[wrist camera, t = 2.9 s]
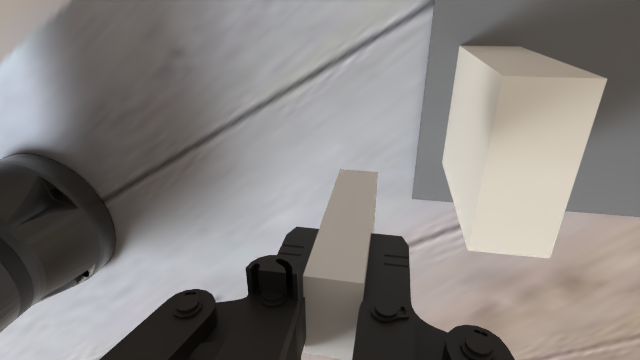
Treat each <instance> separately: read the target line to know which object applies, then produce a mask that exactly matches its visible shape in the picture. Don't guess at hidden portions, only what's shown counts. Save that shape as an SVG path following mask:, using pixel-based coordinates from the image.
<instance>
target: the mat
mask: <svg viewBox="0 0 640 360" xmlns="http://www.w3.org/2000/svg"><path fill="white" fill-rule="evenodd" d="M459 46H520V47H523V48H525V49H528V50H531V51H534V52H536V53H539V54H542V55H544V56H547V57H550V58H553V59H555V60H558V61H561V62H563V63H566V64H569V65H572V66H574V67H577V68H580V69H582V70H585V71H588V72H591V73H593V74H596V75H599V76H601V77H604V78H607V82H606V85H605V88H604V91H603V94H602V97H601V100H600V103H599V107H598V110H597V113H596V116H595V119H594V122H593V125H592V128H591V132H590V135H589V138H588V141H587V144H586V147H585V150H584V153H583V157H582V160H581V163H580V166H579V169H578V172H577V175H576V178H575V182H574V185H573V188H572V191H571V194H570V197H569V200H568V203H567V207H566V210H565V211H572V212H584V213H597V214H610V215H622V216H635V217H640V0H435V4H434V13H433V21H432V30H431V39H430V47H429V56H428V65H427V73H426V82H425V91H424V99H423V108H422V116H421V125H420V134H419V142H418V151H417V160H416V168H415V177H414V185H413V194H412V199H420V200H432V201H445V202H453V198H452V195H451V192H450V188H449V185H448V181H447V178H446V175H445V171H444V168H443V164H442V160H443V153H444V147H445V140H446V133H447V126H448V120H449V113H450V106H451V99H452V93H453V86H454V79H455V72H456V66H457V59H458V52H459Z"/></svg>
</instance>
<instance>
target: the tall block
mask: <svg viewBox="0 0 640 360" xmlns="http://www.w3.org/2000/svg"><path fill="white" fill-rule="evenodd" d="M606 82H607V78H604V77H601V76H599V75H596V74H593V73H591V72H588V71H585V70H582V69H580V68H577V67H574V66H572V65H569V64H566V63H563V62H561V61H558V60H555V59H553V58H550V57H547V56H544V55H542V54H539V53H536V52H534V51H531V50H528V49H525V48H523V47H520V46H459V52H458V59H457V66H456V72H455V79H454V86H453V93H452V99H451V106H450V113H449V120H448V126H447V133H446V140H445V147H444V153H443V160H442V164H443V168H444V171H445V175H446V178H447V181H448V185H449V188H450V192H451V195H452V198H453V202H454V205H455V209H456V212H457V215H458V219H459V222H460V226H461V229H462V232H463V236H464V239H465V243H466V246H467V249H468V250H469V251H479V252H489V253H500V254H510V255H520V256H530V257H540V258H550V257H551V253H552V250H553V247H554V244H555V241H556V238H557V235H558V232H559V228H560V225H561V222H562V219H563V216H564V213H565V210H566V207H567V203H568V200H569V197H570V194H571V191H572V188H573V185H574V182H575V178H576V175H577V172H578V169H579V166H580V163H581V160H582V157H583V153H584V150H585V147H586V144H587V141H588V138H589V135H590V132H591V128H592V125H593V122H594V119H595V116H596V113H597V110H598V107H599V103H600V100H601V97H602V94H603V91H604V88H605V85H606Z"/></svg>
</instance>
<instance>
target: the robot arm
mask: <svg viewBox="0 0 640 360" xmlns="http://www.w3.org/2000/svg"><path fill="white" fill-rule="evenodd" d="M377 177H378V172H368V171H355V170H341V169H340V171H339V174H338V177H337V180H336V183H335V186H334V188H333V191H332V194H331V197H330V200H329V203H328V206H327V208H326V211H325V214H324V217H323V220H322V223H321V226H320V228H319V229H314V228H304V227H296V228H294V229H293V230H292V231H291V232H289V233H288V234H287V235H286V237H285V239H284V241H283V243H282V246H281V248H280V250H279V252H278V254H277V255H268V256H264V257H260V258H258V259H256V260H254V261H252V262H251V263H250V264H249V265H248V266H247V267H246V276H247V285H248V296H247V297H245V298H243V299H239V300H234V301H226V302H217V303H216V302H215V299H214V297H213V295H212V294H211V293H209V292H207V291H206V290H200V289H192V290H186V291H183V292H180V293H177V294H175V295H174V296H172V297H171V298H169V299H168V300H167V301H166V302H165V303H163V304H162V305H161V306H160V307H159V308H158V309H157V310H155V311H154V312H153V313H152V314H151V315H150V316H149V317H147V318H146V319H145V320H144V321H143V322H142V323H141V324H139V325H138V326H137V327H136V328H135V329H134V330H133V331H132V332H130V333H129V334H128V335H127V336H126V337H125V338H124V339H122V340H121V341H120V342H119V343H118V344H117V345H116V346H114V347H113V348H112V349H111V350H110V351H109V352H108V353H107V354H105V355H104V356H103V357H102V358H101V359H100V360H301V354H302V351H303V347H304V344H305V354H310V355H316V356H322V357H329V358H335V359H341V360H515V359H514V358H513V356H512V354H511V353H510V351H509V349H508V348H507V346H506V345H505V344H504V343H503V342H502V340H501V339H500V338H499V337H497V336H496V335H495V334H493V333H492V332H490V331H489V330H486V329H483V328H481V327H478V326H472V325H462V326H457V327H455V328H453V329H452V330H451V331H449V332H448V333H447V332H445V331H442V330H440V329H437V328H435V327H433V326H431V325H429V324H427V323H426V322H424V321H423V320H422V319H420V318H419V316H418V315H417V314H416V313H415V312H414V310H413V308H412V305H411V295H410V268H409V246H408V245H407V243H406V242H405V240H404V239H403V237H402V236H393V235H383V234H373V233H374V220H375V206H376V192H377ZM114 247H115V232H114V227H113V223H112V220H111V218H110V215H109V213H108V211H107V209H106V207H105V206H104V204H103V202H102V201H101V199H100V198H99V197H98V195H97V194H96V193H95V192H94V190H93V189H92V188H91V187H90V186H89V185H88V184H87V183H86V182H85V181H84V180H83V179H82V178H80V177H79V176H78V175H77V174H75V173H74V172H73V171H71V170H70V169H68V168H66V167H65V166H63V165H61V164H59V163H57V162H55V161H53V160H51V159H48V158H45V157H42V156H38V155H32V154H15V155H11V156H8V157H5V158H3V159H0V332H1V331H3V330H4V329H5V328H6V327H7V326H8V325H10V324H11V323H12V322H13V321H14V320H15V319H16V318H18V317H19V316H20V315H21V314H22V313H24V312H25V311H26V310H27V309H28V308H30V307H31V306H32V305H34V304H36V303H38V302H40V301H43V300H45V299H47V298H49V297H51V296H53V295H56V294H58V293H60V292H62V291H64V290H67V289H69V288H71V287H73V286H75V285H77V284H80V283H82V282H84V281H86V280H87V279H89V278H90V277H92V276H93V275H94V274H95V273H96V272H98V271H99V270H100V269H101V268H102V267H103V266H104V265H105V264H106V263H107V262H108V261H109V259H110V258H111V256H112V254H113V251H114Z"/></svg>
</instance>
